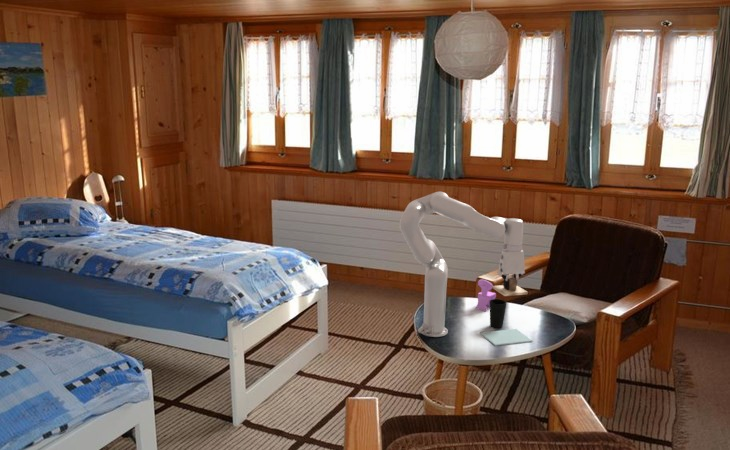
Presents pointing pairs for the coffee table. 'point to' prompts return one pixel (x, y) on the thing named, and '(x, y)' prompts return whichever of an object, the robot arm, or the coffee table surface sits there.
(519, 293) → the lid
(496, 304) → the cup
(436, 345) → the coffee table surface
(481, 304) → the toy chair
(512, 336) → the mat
